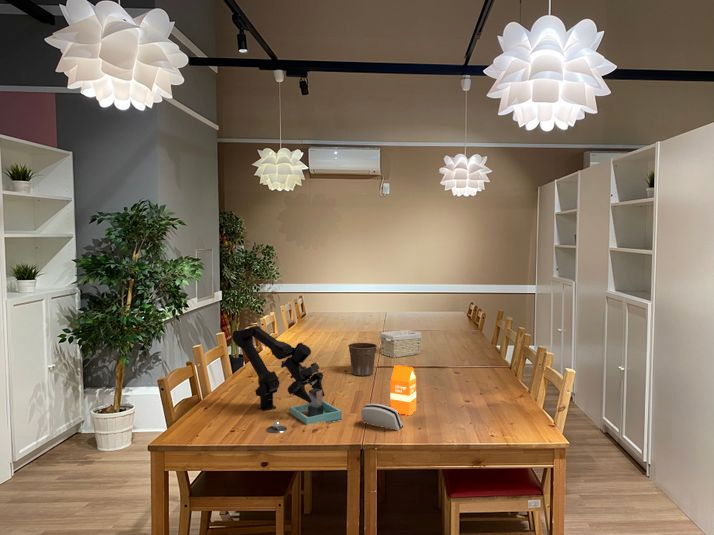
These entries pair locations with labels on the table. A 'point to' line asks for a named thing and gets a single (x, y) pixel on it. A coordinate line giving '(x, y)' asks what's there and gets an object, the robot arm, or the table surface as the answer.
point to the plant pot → (362, 358)
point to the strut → (315, 402)
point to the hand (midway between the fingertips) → (317, 399)
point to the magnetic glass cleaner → (381, 416)
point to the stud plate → (272, 430)
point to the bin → (328, 415)
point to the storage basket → (400, 343)
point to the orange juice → (403, 390)
